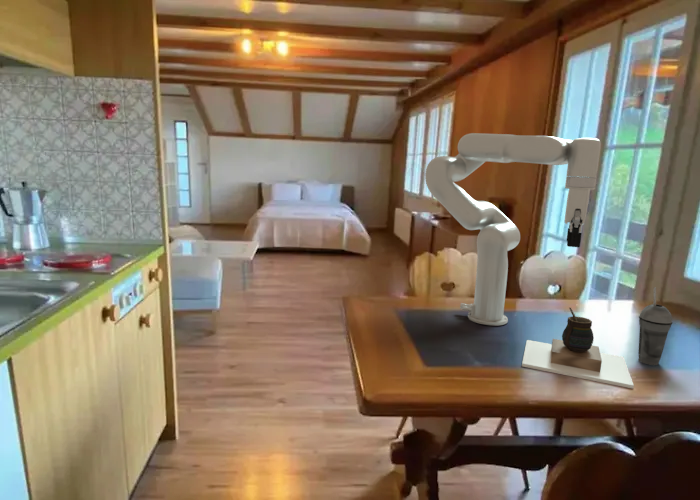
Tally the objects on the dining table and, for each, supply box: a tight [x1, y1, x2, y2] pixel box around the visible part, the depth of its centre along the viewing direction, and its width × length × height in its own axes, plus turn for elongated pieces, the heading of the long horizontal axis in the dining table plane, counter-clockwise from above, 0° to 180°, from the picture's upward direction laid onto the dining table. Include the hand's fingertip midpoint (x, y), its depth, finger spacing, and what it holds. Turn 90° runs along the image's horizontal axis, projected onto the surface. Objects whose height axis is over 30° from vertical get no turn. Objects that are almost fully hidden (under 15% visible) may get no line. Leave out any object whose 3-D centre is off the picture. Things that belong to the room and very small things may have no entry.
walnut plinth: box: [551, 338, 602, 372], centre depth 115 cm, size 11×10×3 cm
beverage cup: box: [638, 287, 673, 366], centre depth 116 cm, size 7×7×20 cm
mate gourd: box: [561, 307, 594, 352], centre depth 114 cm, size 7×8×10 cm
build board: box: [521, 339, 635, 389], centre depth 115 cm, size 24×18×1 cm
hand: (572, 244), depth 127 cm, fingers open, 9 cm apart
